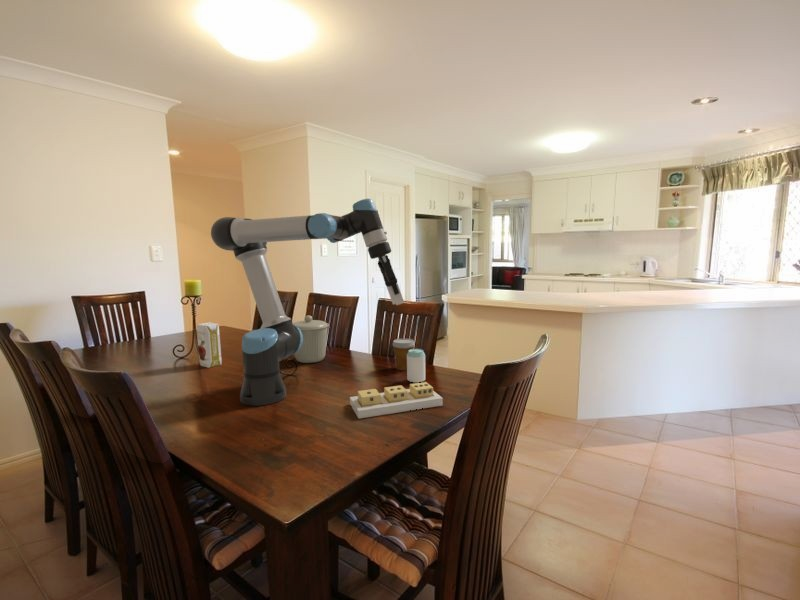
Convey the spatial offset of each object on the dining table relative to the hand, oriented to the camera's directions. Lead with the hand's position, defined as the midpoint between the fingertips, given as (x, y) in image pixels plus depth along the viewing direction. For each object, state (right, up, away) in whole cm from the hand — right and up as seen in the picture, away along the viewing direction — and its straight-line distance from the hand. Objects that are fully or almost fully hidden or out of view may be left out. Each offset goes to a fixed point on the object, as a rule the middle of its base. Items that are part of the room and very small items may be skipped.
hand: (398, 303), depth 137 cm
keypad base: (-1, -33, -5) cm, 34 cm away
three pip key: (+8, -31, -3) cm, 32 cm away
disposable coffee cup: (+2, -28, +35) cm, 45 cm away
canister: (-41, -27, +49) cm, 70 cm away
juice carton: (-84, -28, +44) cm, 99 cm away
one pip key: (-9, -32, -8) cm, 34 cm away
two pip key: (-1, -31, -5) cm, 32 cm away
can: (+7, -30, +19) cm, 36 cm away
